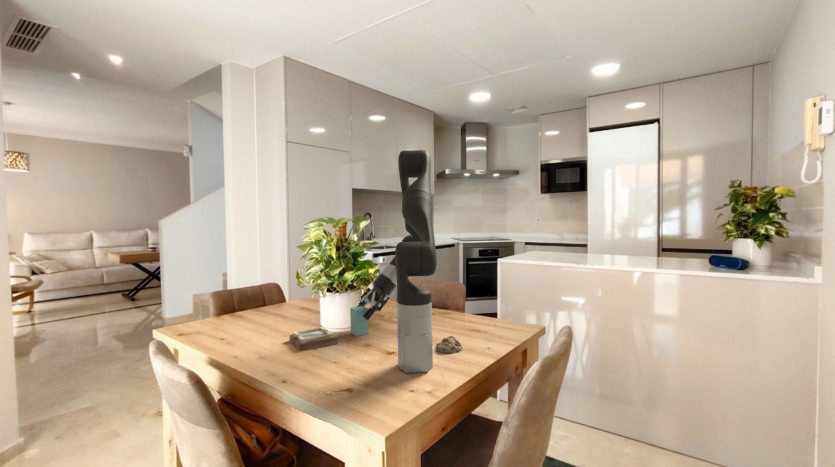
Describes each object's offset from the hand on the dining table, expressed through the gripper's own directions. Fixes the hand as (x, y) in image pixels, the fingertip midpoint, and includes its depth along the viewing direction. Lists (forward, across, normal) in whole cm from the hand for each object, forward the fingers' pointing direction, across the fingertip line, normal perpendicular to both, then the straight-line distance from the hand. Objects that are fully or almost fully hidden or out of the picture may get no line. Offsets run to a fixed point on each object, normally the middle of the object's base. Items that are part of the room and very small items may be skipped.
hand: (360, 315), depth 131 cm
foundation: (+16, 0, -7) cm, 18 cm away
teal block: (+5, 0, +4) cm, 6 cm away
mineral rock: (-7, +30, +16) cm, 34 cm away
